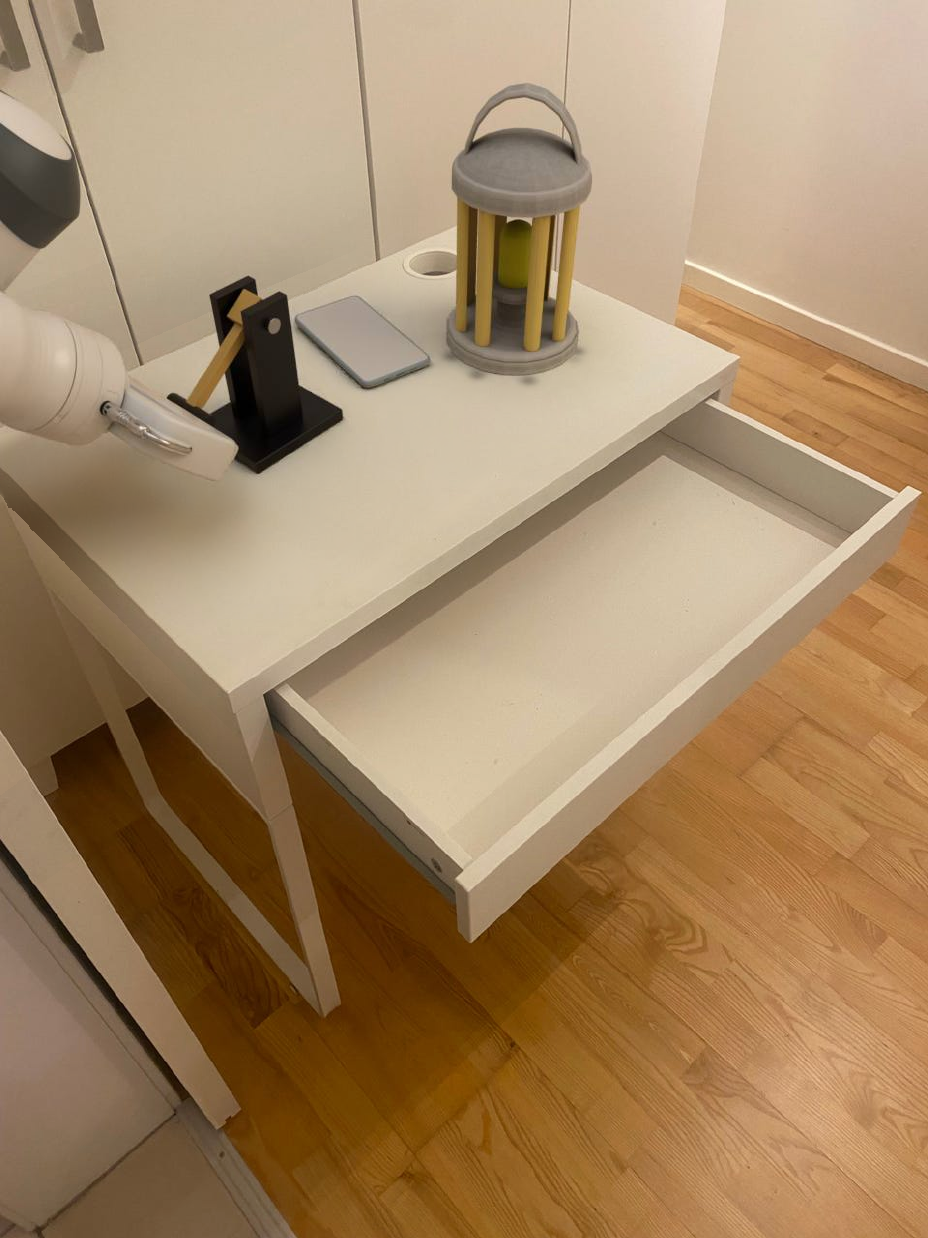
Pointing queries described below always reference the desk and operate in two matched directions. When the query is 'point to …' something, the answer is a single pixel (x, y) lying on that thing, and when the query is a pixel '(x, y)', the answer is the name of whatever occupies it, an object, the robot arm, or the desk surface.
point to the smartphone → (362, 341)
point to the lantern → (516, 242)
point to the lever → (217, 362)
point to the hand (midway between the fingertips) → (194, 429)
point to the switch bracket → (266, 383)
